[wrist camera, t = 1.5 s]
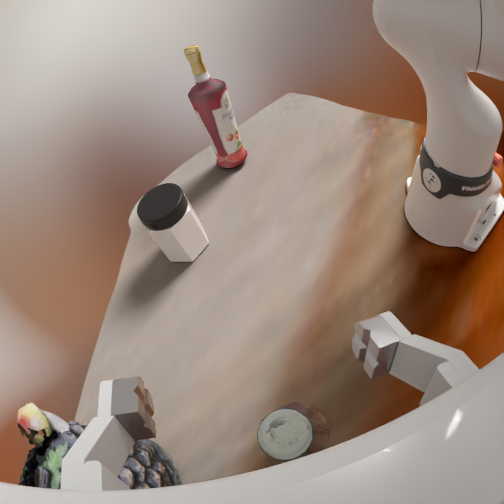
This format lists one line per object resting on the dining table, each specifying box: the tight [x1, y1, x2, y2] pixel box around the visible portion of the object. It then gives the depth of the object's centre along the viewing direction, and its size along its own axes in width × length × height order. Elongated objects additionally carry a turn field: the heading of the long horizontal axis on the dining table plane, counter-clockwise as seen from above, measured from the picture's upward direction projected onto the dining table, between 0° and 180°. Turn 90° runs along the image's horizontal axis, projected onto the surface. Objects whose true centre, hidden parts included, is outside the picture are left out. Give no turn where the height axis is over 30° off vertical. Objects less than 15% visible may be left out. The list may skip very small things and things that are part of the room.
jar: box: [137, 183, 209, 262], centre depth 53 cm, size 9×8×12 cm
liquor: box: [184, 45, 247, 168], centre depth 57 cm, size 7×7×28 cm
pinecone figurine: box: [17, 403, 183, 490], centre depth 24 cm, size 21×15×25 cm
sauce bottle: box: [257, 402, 329, 462], centre depth 28 cm, size 6×6×20 cm
